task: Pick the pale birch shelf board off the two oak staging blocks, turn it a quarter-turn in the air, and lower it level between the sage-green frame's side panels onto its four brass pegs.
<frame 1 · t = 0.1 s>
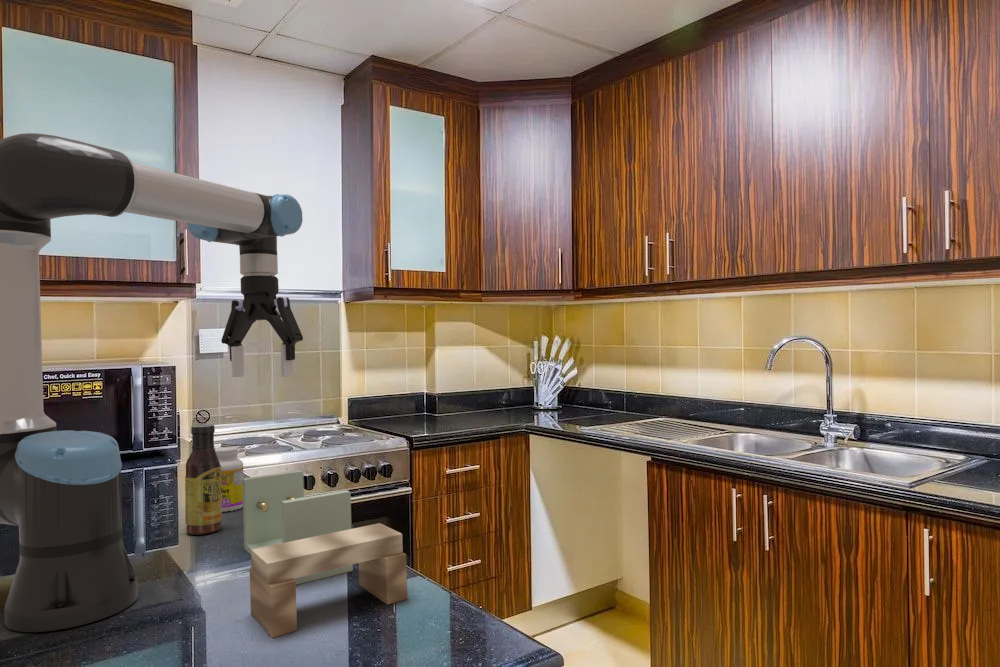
hand: (262, 376, 140), 28 cm above the counter, tool pointing down, fingers open, 13 cm apart
sauce bottle: (204, 532, 125), on the counter
shelf frame: (295, 559, 107), on the counter
shelf board: (329, 560, 87), point 6 cm above the counter, touching staging blocks
staging blocks: (330, 606, 87), on the counter
supplement bottle: (227, 509, 141), on the counter
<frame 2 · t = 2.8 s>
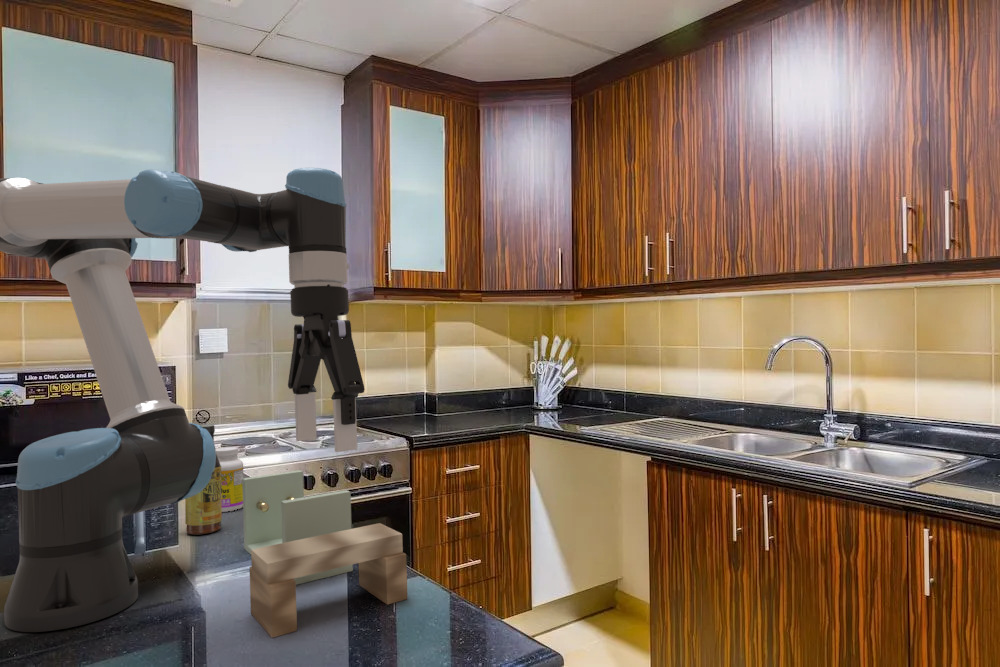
hand: (325, 445, 89), 21 cm above the counter, tool pointing down, fingers open, 13 cm apart
nothing on the counter moved.
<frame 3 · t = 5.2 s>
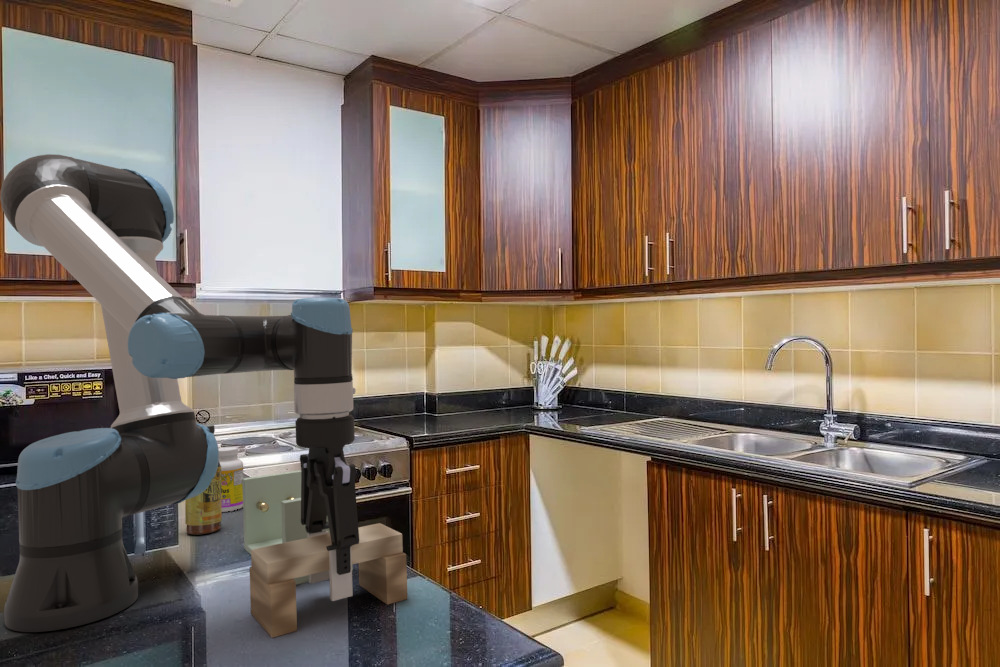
hand: (330, 588, 87), 2 cm above the counter, tool pointing down, fingers closed on shelf board, 7 cm apart
shelf board: (329, 560, 87), point 6 cm above the counter, touching gripper, staging blocks
everything else where it was.
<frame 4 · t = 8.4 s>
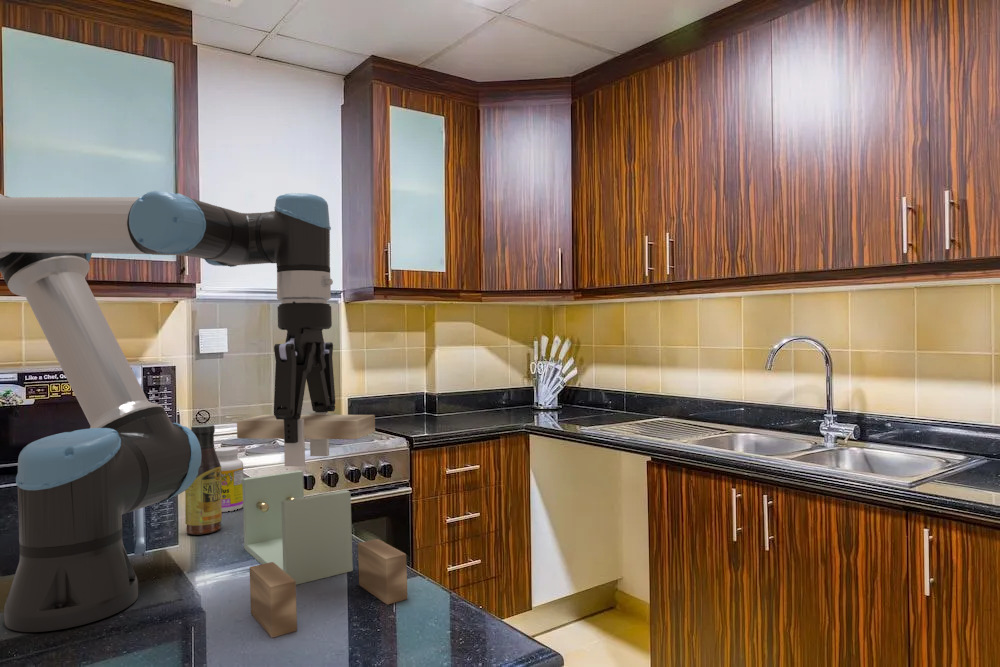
hand: (307, 460, 96), 18 cm above the counter, tool pointing down, fingers closed on shelf board, 7 cm apart
shelf board: (307, 434, 96), point 21 cm above the counter, touching gripper
everything else where it was.
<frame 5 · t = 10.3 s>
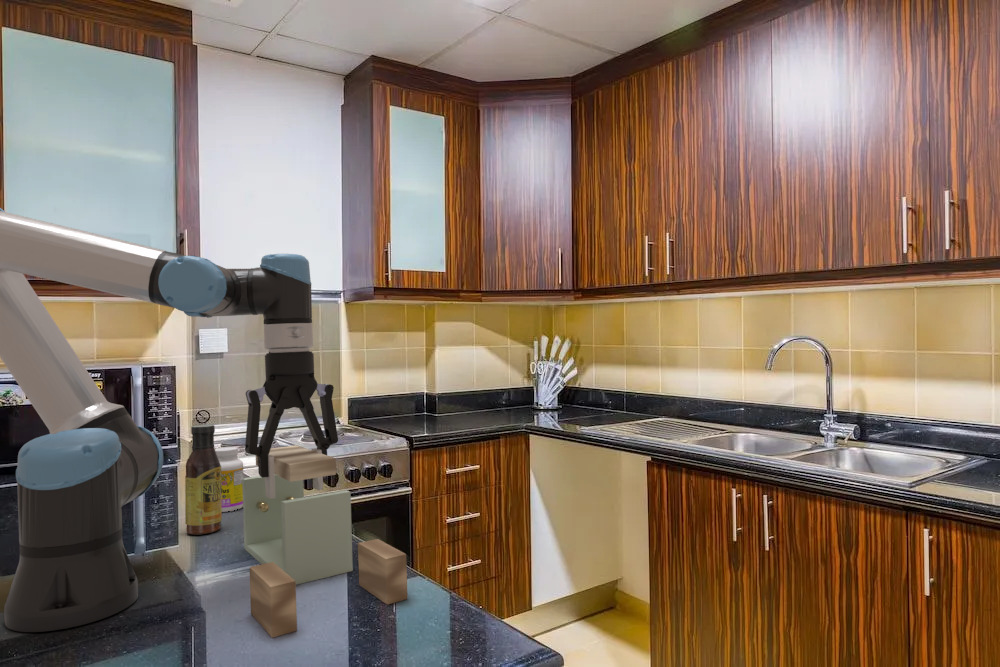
hand: (294, 492, 107), 11 cm above the counter, tool pointing down, fingers closed on shelf board, 7 cm apart
shelf board: (294, 469, 107), point 14 cm above the counter, touching gripper
everything else where it was.
when the fingers open (6 cm above the counter, at t = 11.7 s): shelf board drops 1 cm, resting on shelf frame.
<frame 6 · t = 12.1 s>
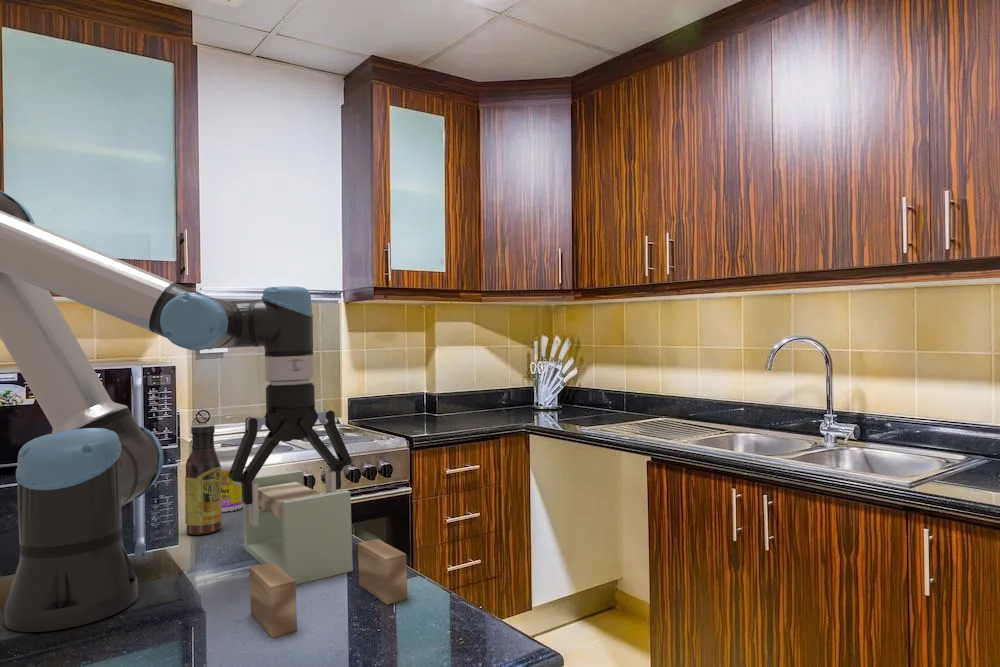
hand: (294, 516, 107), 7 cm above the counter, tool pointing down, fingers open, 12 cm apart
shelf board: (293, 509, 107), point 8 cm above the counter, touching shelf frame
everything else where it was.
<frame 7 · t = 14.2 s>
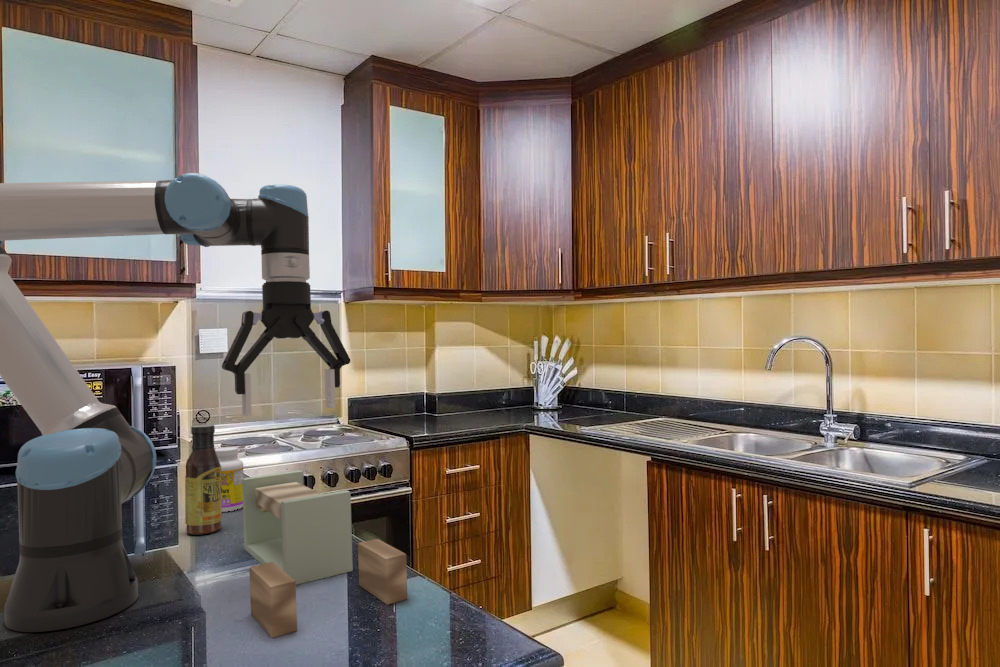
hand: (290, 411, 108), 24 cm above the counter, tool pointing down, fingers open, 13 cm apart
nothing on the counter moved.
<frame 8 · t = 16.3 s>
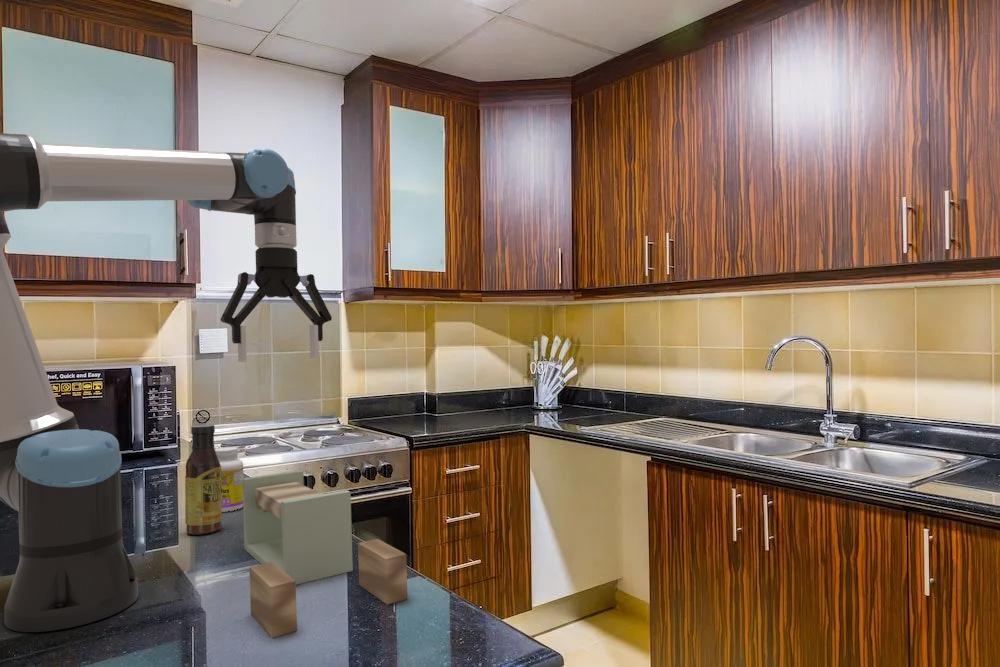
hand: (279, 360, 126), 32 cm above the counter, tool pointing down, fingers open, 13 cm apart
nothing on the counter moved.
at the end: shelf board 0.0 cm off-centre on the shelf frame, point 8.0 cm above the shelf frame's base; shelf board tilted 0°; the gripper is holding nothing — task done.
